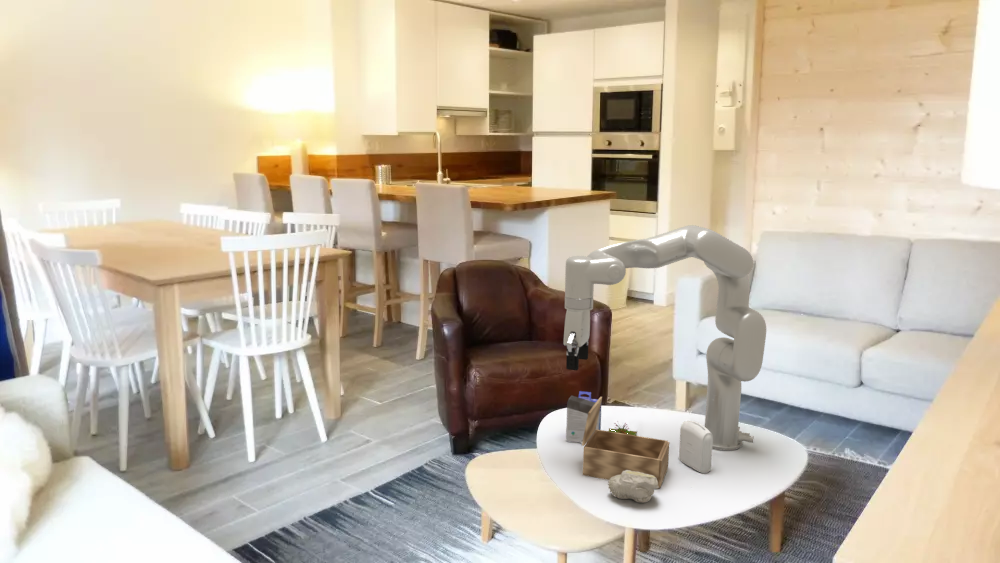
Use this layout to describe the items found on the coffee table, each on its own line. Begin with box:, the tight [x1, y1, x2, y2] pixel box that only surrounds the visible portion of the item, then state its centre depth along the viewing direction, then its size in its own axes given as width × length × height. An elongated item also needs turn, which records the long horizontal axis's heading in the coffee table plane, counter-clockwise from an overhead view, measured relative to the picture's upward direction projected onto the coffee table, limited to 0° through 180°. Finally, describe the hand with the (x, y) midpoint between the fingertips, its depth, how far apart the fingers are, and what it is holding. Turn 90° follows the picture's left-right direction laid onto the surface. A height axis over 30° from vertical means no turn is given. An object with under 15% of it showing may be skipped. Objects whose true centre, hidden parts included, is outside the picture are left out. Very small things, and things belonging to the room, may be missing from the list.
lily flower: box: [608, 420, 638, 436], centre depth 226 cm, size 12×12×5 cm
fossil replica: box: [607, 470, 660, 504], centre depth 188 cm, size 12×8×10 cm
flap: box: [566, 395, 603, 447], centre depth 205 cm, size 10×13×8 cm
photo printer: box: [678, 420, 713, 474], centre depth 206 cm, size 10×4×12 cm, turn 26°
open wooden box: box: [582, 429, 670, 490], centre depth 203 cm, size 21×13×8 cm, turn 69°
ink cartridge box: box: [565, 390, 602, 444], centre depth 222 cm, size 10×6×14 cm, turn 79°
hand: (577, 364), depth 204 cm, fingers open, 9 cm apart
